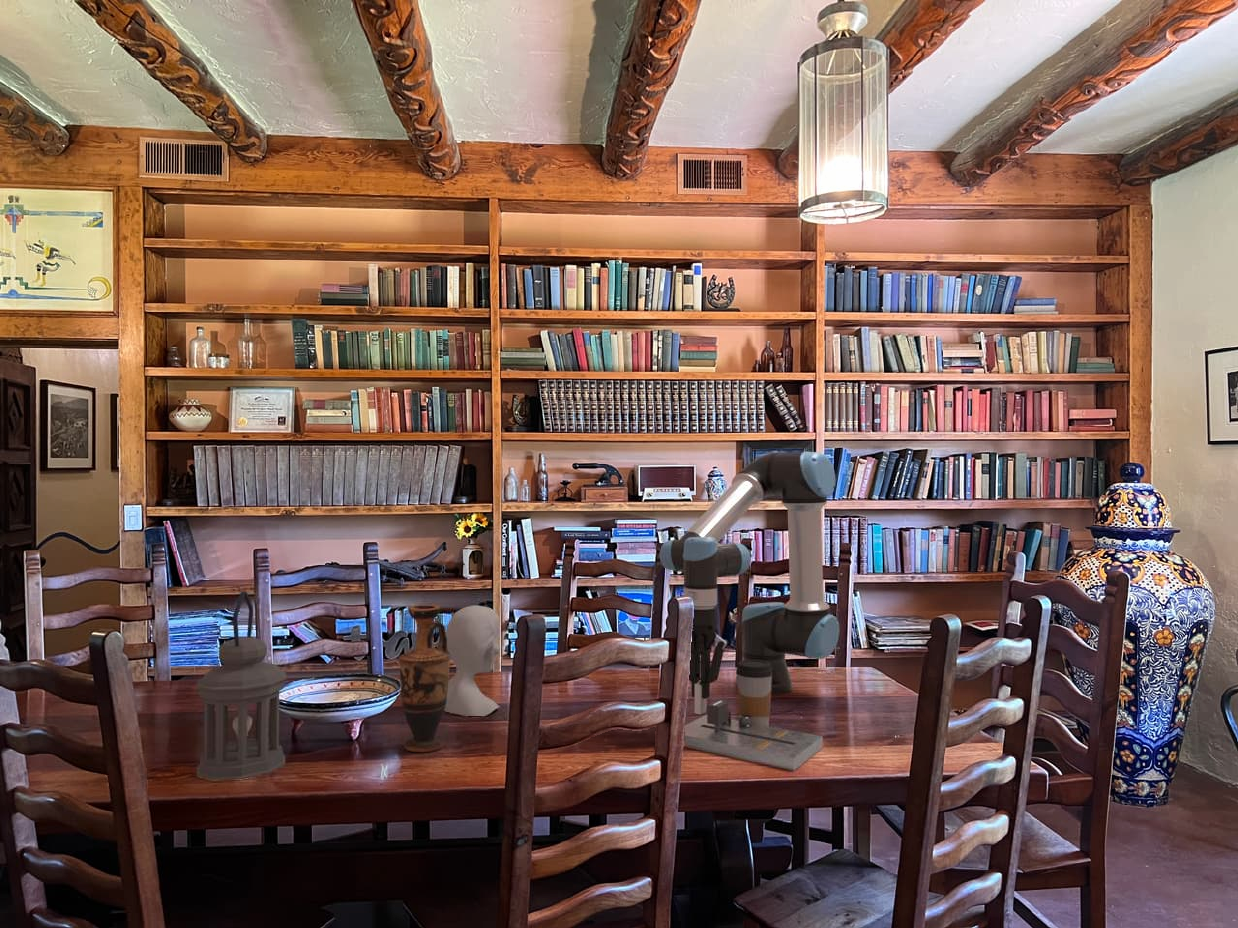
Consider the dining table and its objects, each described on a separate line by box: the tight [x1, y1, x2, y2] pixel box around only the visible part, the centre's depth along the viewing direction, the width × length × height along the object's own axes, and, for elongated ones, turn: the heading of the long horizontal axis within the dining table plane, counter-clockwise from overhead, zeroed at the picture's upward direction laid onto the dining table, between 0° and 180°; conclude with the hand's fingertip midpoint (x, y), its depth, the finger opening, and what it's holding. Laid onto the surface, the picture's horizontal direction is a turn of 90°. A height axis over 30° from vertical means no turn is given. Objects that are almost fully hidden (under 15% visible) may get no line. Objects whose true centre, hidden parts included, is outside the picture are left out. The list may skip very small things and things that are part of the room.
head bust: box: [444, 605, 501, 717], centre depth 205 cm, size 22×19×25 cm
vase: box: [398, 604, 451, 754], centre depth 172 cm, size 11×11×30 cm
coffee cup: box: [735, 660, 773, 726], centre depth 185 cm, size 8×8×15 cm
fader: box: [706, 700, 729, 731], centre depth 177 cm, size 4×3×7 cm, turn 146°
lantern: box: [196, 590, 288, 780], centre depth 161 cm, size 17×17×35 cm
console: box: [684, 711, 824, 771], centre depth 173 cm, size 16×28×4 cm, turn 56°
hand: (700, 712), depth 179 cm, fingers closed
